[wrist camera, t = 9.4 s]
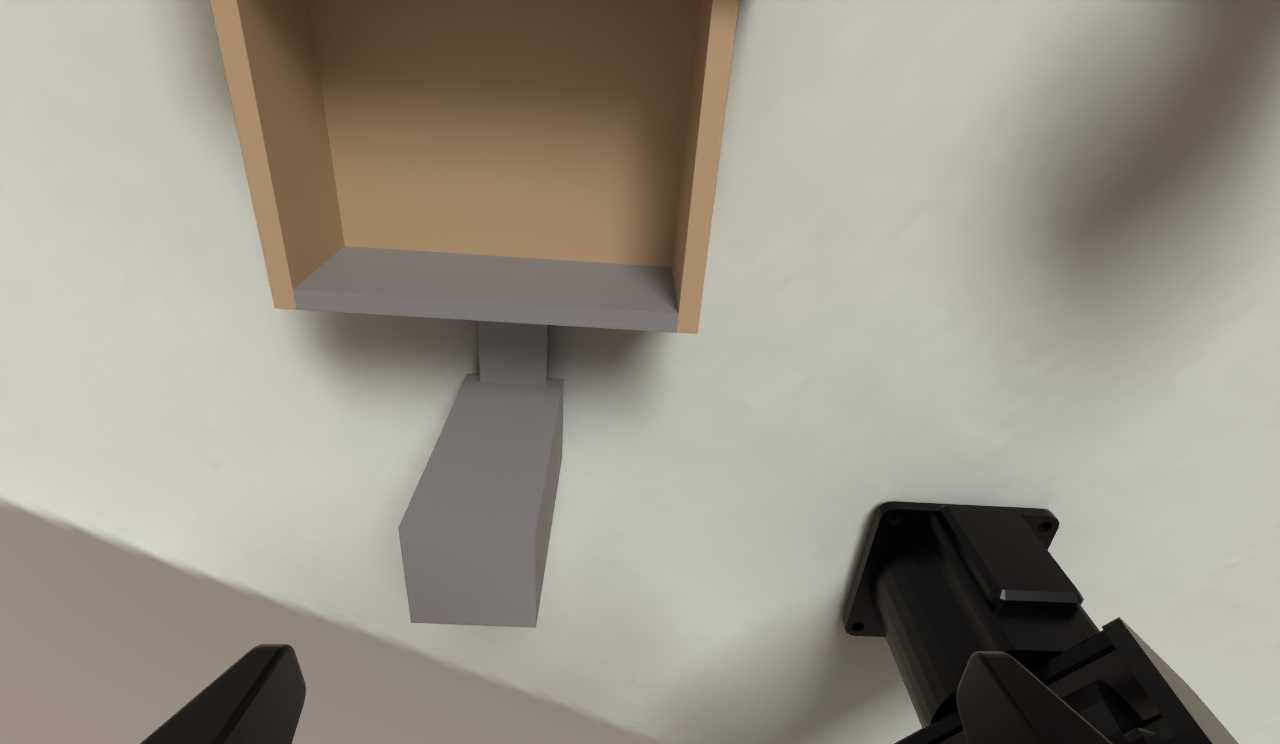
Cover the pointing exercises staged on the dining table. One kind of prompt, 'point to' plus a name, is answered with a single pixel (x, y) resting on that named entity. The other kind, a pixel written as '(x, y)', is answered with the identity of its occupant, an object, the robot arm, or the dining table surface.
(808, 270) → the dining table surface
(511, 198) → the inner tray
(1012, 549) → the robot arm
